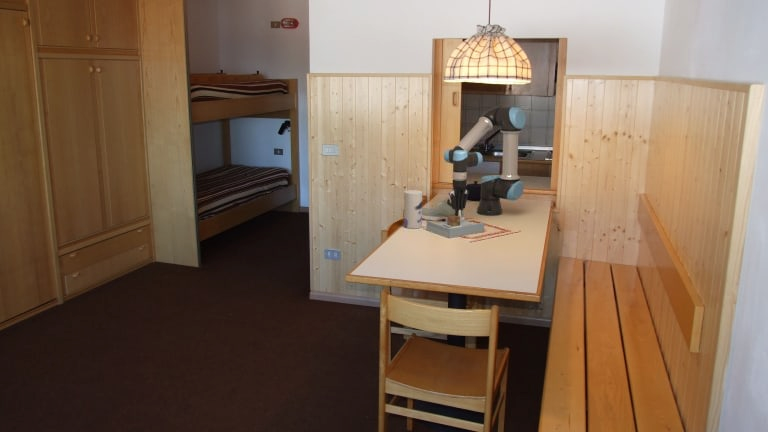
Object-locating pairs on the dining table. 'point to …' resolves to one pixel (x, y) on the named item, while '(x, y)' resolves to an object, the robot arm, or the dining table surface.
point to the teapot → (474, 191)
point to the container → (413, 209)
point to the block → (453, 220)
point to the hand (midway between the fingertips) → (458, 221)
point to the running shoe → (439, 211)
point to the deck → (455, 228)
